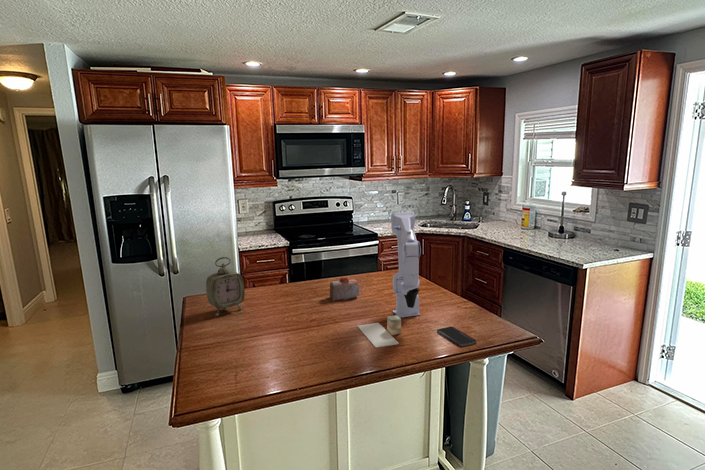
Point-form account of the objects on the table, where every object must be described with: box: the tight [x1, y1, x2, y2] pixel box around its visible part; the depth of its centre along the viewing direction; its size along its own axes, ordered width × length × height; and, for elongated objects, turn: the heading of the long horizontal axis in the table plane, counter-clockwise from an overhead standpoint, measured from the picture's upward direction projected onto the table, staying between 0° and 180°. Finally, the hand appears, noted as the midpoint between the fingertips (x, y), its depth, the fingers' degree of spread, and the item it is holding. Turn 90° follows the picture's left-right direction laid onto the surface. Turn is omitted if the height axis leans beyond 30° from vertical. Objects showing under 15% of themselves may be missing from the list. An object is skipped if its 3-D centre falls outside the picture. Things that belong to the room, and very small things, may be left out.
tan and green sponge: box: [386, 314, 402, 336], centre depth 158 cm, size 4×4×6 cm
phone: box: [436, 326, 478, 348], centre depth 153 cm, size 8×1×15 cm
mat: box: [357, 322, 400, 349], centre depth 156 cm, size 9×20×1 cm, turn 18°
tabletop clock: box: [205, 256, 246, 317], centre depth 180 cm, size 14×9×25 cm, turn 131°
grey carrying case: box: [329, 277, 360, 302], centre depth 198 cm, size 14×8×10 cm, turn 111°
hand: (410, 307), depth 158 cm, fingers closed
